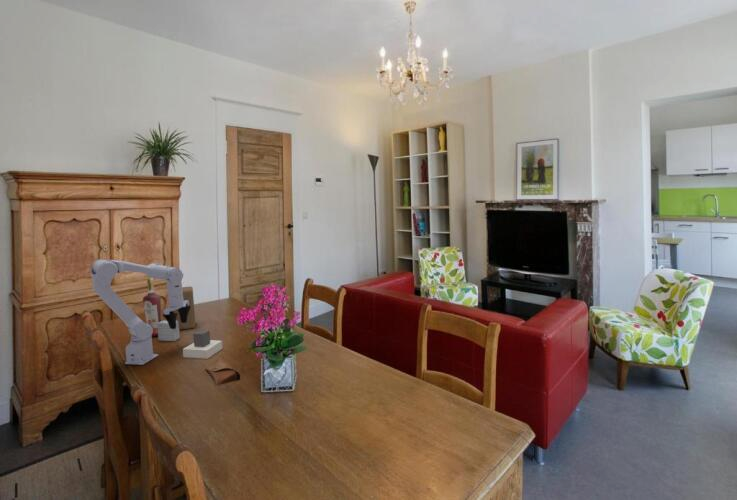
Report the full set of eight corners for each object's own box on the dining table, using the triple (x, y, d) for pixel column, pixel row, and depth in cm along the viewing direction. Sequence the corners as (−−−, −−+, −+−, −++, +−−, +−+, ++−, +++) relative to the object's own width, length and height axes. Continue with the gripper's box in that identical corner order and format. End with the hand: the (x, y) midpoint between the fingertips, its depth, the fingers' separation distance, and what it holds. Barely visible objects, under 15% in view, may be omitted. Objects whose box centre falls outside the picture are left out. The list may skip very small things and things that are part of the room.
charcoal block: (203, 347, 162) (202, 334, 161) (194, 346, 163) (193, 333, 162) (210, 343, 166) (209, 330, 165) (201, 342, 167) (200, 330, 166)
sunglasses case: (202, 369, 148) (210, 352, 150) (219, 373, 153) (226, 357, 154) (216, 386, 134) (225, 367, 136) (234, 390, 139) (243, 372, 140)
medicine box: (180, 338, 183) (178, 320, 182) (174, 341, 178) (172, 323, 177) (164, 337, 184) (162, 320, 183) (158, 341, 179) (156, 323, 178)
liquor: (167, 332, 191) (162, 276, 187) (157, 338, 184) (152, 279, 180) (153, 332, 192) (147, 276, 188) (143, 337, 184) (137, 279, 181)
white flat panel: (207, 359, 158) (207, 350, 158) (183, 358, 160) (182, 349, 160) (222, 349, 169) (221, 340, 169) (199, 348, 171) (198, 339, 170)
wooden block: (174, 325, 202) (171, 287, 199) (195, 322, 206) (192, 285, 203) (173, 331, 193) (170, 292, 190) (195, 328, 197) (192, 289, 194)
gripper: (173, 299, 159) (176, 331, 161) (193, 290, 173) (196, 320, 175) (157, 299, 160) (161, 331, 162) (179, 290, 174) (182, 320, 176)
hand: (178, 325), depth 168 cm, fingers open, 7 cm apart
